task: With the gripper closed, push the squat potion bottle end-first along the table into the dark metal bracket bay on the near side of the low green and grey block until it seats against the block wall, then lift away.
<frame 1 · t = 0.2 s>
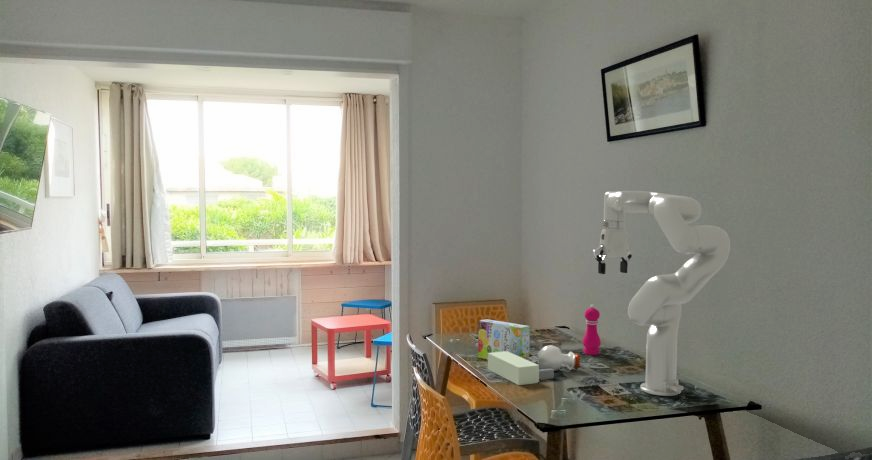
hand: (612, 273, 230), 36 cm above the table, tool pointing down, fingers open, 9 cm apart
green and grey block: (512, 375, 225), on the table
snack box: (503, 362, 246), on the table
pepper mill: (591, 353, 260), on the table
potion bottle: (557, 371, 233), on the table
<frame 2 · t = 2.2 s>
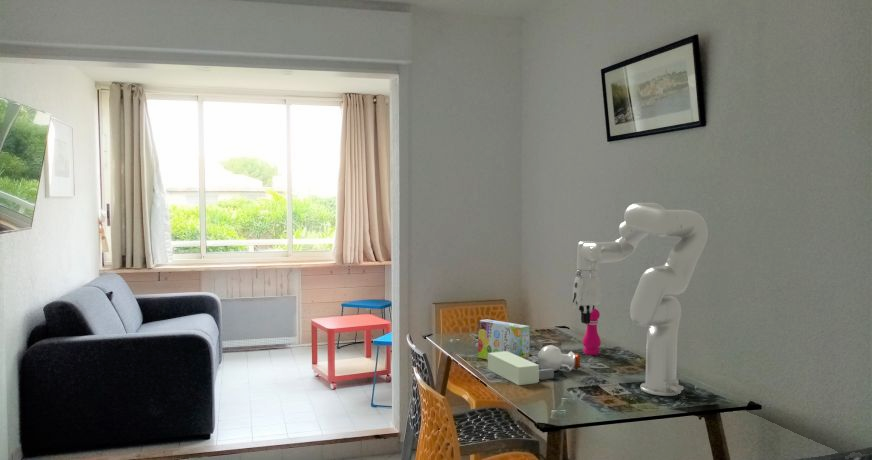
hand: (585, 323, 238), 16 cm above the table, tool pointing down, fingers closed
nothing on the table moved.
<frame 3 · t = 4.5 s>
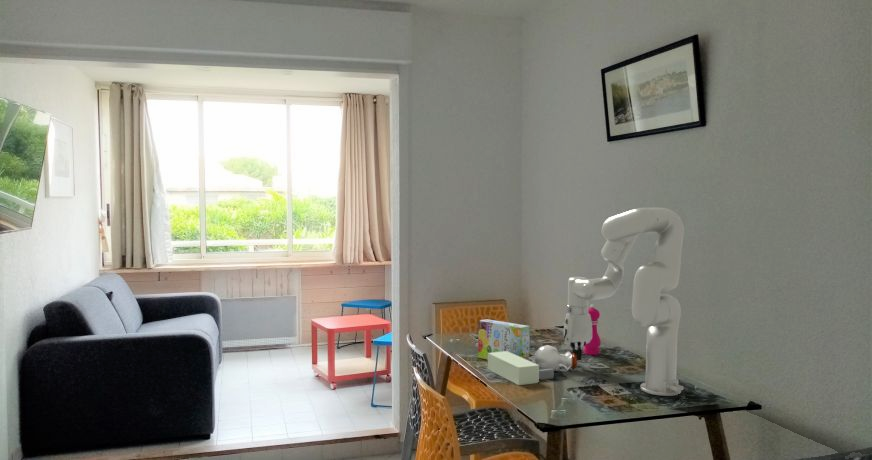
hand: (576, 359, 236), 3 cm above the table, tool pointing down, fingers closed
potion bottle: (554, 371, 233), on the table, touching gripper
everything else where it was.
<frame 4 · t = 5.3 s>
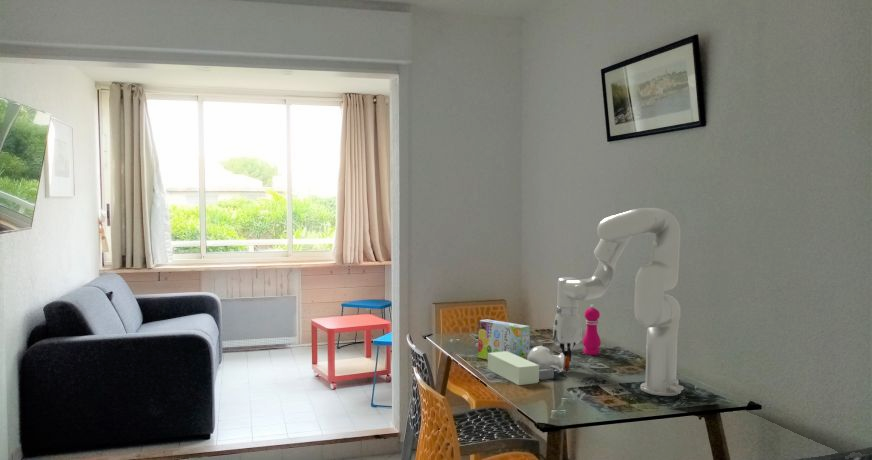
hand: (566, 360, 235), 3 cm above the table, tool pointing down, fingers closed
potion bottle: (547, 372, 231), on the table, touching gripper
everything else where it was.
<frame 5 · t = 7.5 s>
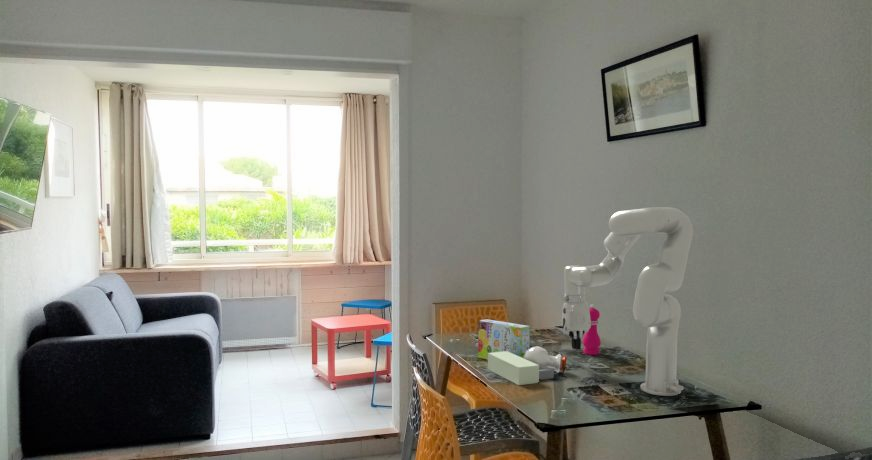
hand: (576, 348, 235), 8 cm above the table, tool pointing down, fingers closed
potion bottle: (544, 372, 231), on the table
everything else where it was.
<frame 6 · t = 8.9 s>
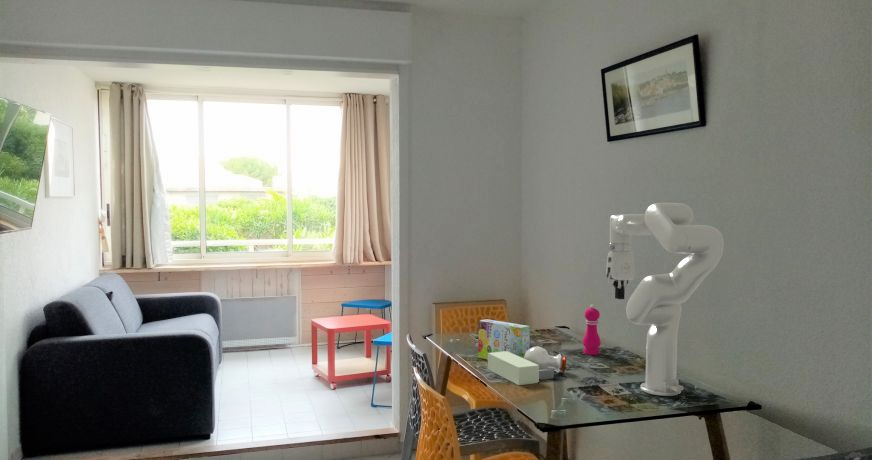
hand: (619, 298, 232), 26 cm above the table, tool pointing down, fingers closed
nothing on the table moved.
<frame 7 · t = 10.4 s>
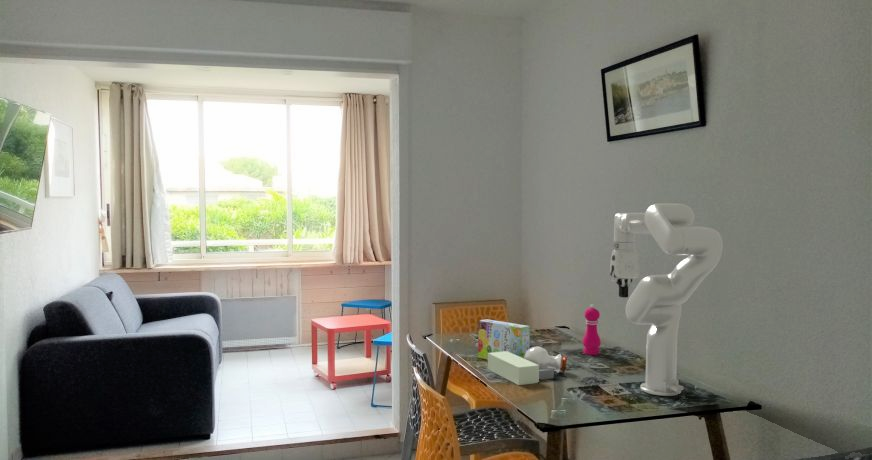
hand: (623, 296, 232), 27 cm above the table, tool pointing down, fingers closed
nothing on the table moved.
at the end: potion bottle inside the target area on the green and grey block (1.6 cm from its centre), point 0.0 cm above the green and grey block's base; potion bottle moved 5.7 cm from its start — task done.
